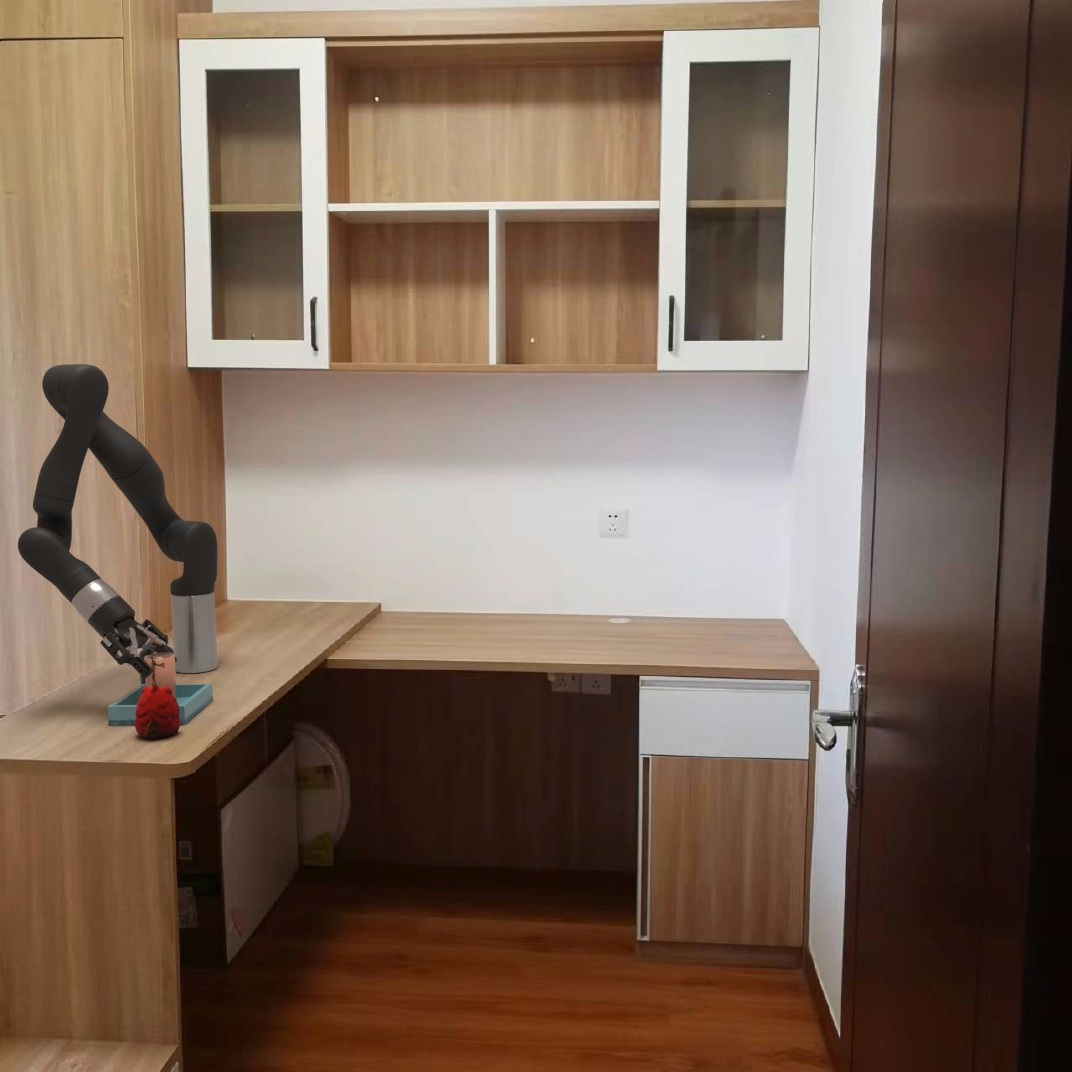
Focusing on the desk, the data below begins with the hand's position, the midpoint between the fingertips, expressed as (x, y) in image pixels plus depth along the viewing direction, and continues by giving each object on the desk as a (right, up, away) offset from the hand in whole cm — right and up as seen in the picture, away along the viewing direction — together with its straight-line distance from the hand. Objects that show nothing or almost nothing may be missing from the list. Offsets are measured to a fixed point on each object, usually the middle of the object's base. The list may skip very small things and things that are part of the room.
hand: (162, 669), depth 191 cm
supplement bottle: (-6, -7, +15) cm, 18 cm away
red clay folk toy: (+4, -10, -13) cm, 17 cm away
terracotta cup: (0, -7, +1) cm, 7 cm away
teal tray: (0, -8, +1) cm, 8 cm away
